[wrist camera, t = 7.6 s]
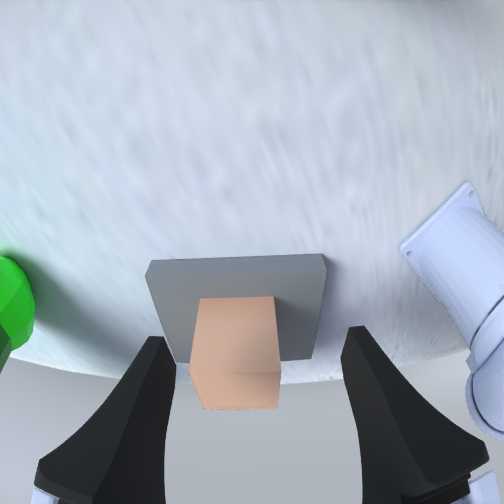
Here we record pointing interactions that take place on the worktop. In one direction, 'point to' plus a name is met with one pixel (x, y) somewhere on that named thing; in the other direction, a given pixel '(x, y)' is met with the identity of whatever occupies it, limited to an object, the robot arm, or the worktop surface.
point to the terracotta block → (236, 354)
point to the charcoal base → (241, 295)
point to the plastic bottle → (14, 308)
